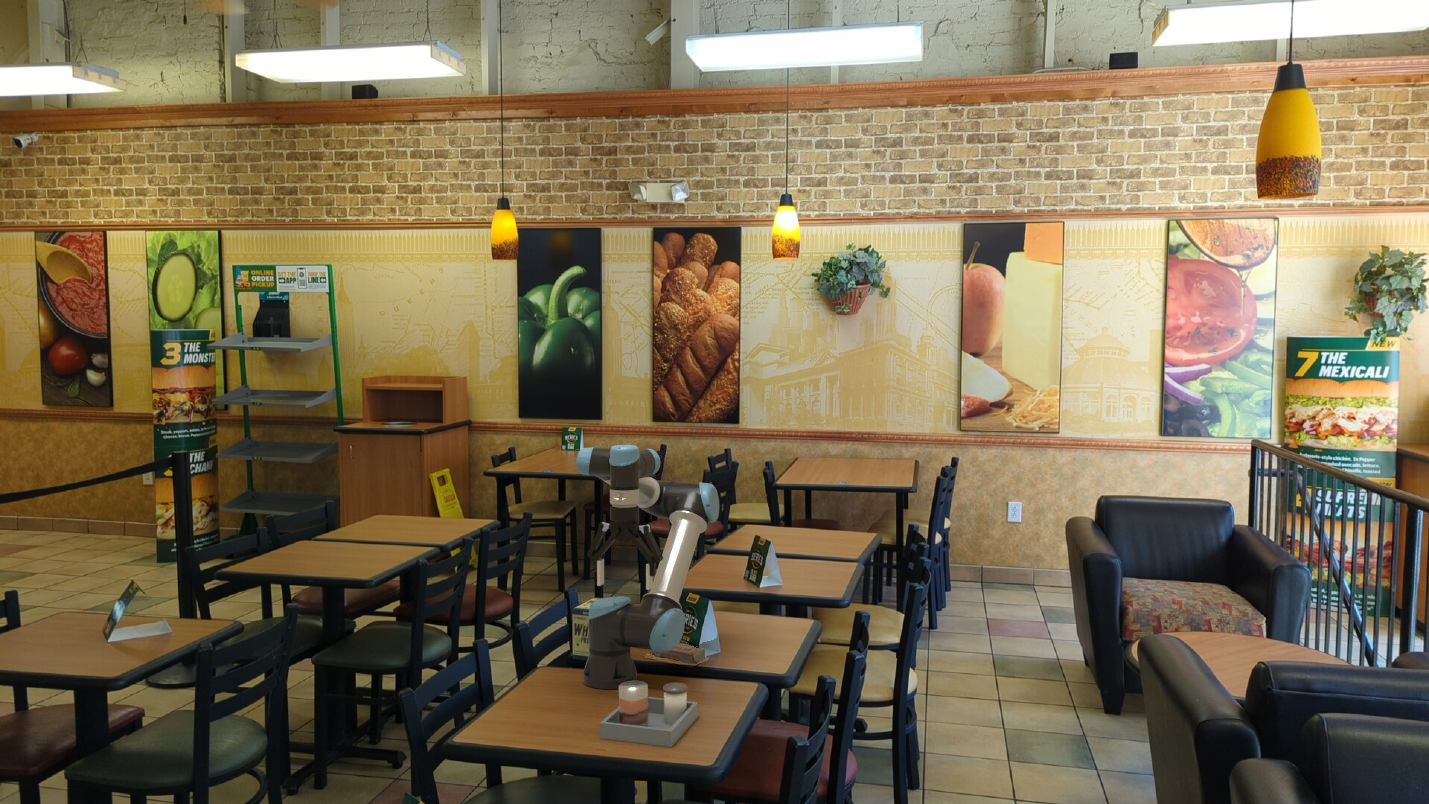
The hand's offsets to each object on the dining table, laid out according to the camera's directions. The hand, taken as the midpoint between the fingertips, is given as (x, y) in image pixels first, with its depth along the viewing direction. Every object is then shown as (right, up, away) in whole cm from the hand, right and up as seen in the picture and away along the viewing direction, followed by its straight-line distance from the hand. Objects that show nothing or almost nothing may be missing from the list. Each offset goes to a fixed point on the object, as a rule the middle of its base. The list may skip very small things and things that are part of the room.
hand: (624, 586), depth 256 cm
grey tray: (+8, -33, -14) cm, 36 cm away
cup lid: (+14, -24, -11) cm, 29 cm away
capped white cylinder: (+14, -32, -10) cm, 36 cm away
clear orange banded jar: (+4, -32, -16) cm, 36 cm away
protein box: (-12, -30, +47) cm, 57 cm away
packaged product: (+12, -30, +42) cm, 53 cm away
